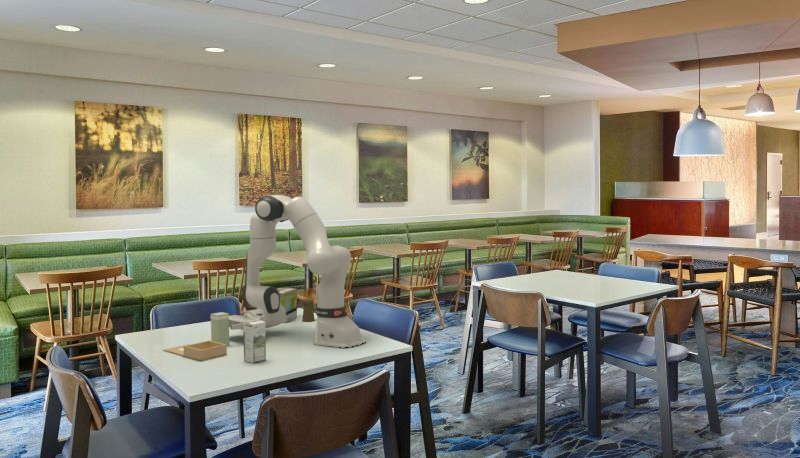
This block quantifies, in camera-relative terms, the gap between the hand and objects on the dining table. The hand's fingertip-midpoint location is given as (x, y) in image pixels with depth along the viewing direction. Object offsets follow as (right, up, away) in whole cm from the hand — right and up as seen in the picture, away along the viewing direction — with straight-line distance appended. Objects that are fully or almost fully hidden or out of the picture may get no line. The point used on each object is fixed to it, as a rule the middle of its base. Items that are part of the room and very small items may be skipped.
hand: (224, 326), depth 251 cm
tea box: (+14, -5, +49) cm, 51 cm away
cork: (+27, -5, +46) cm, 54 cm away
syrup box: (+18, -9, -25) cm, 32 cm away
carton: (-1, -8, -1) cm, 8 cm away
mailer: (-8, -8, -13) cm, 17 cm away
